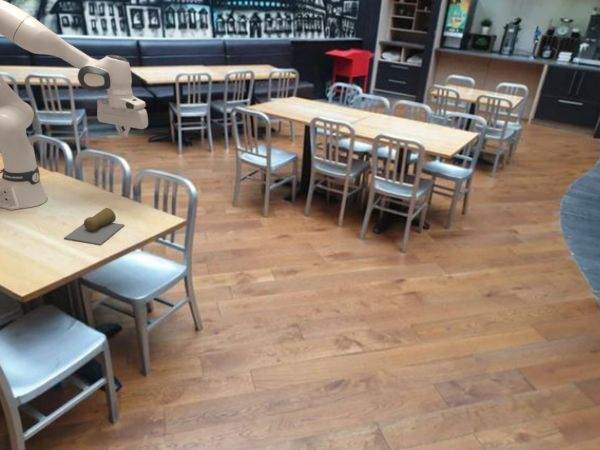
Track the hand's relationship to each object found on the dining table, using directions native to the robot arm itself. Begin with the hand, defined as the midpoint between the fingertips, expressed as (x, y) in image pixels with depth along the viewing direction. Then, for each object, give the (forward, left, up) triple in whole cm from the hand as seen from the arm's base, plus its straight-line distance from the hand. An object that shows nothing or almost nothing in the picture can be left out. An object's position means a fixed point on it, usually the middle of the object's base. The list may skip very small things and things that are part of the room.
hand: (123, 136), depth 179 cm
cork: (+2, -18, -26) cm, 32 cm away
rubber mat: (+1, -27, -29) cm, 40 cm away
